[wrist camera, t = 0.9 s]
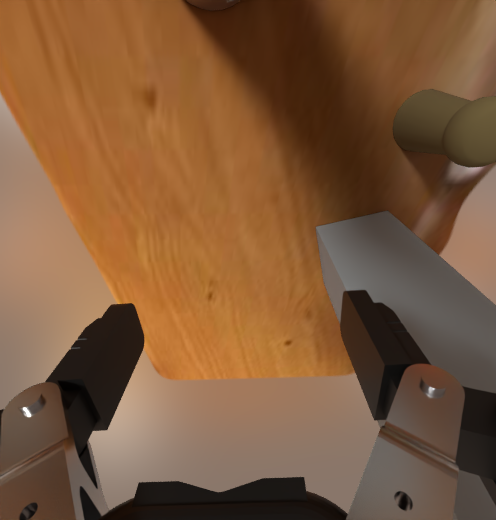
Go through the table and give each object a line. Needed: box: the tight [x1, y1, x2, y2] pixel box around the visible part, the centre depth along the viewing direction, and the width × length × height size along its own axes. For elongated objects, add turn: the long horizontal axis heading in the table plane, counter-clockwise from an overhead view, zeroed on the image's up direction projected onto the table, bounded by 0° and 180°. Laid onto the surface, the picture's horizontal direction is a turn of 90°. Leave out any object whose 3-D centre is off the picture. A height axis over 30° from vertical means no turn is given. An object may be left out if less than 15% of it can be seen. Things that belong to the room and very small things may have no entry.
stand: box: [316, 211, 496, 520], centre depth 25 cm, size 9×9×32 cm
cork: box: [393, 89, 496, 167], centre depth 27 cm, size 6×6×11 cm
